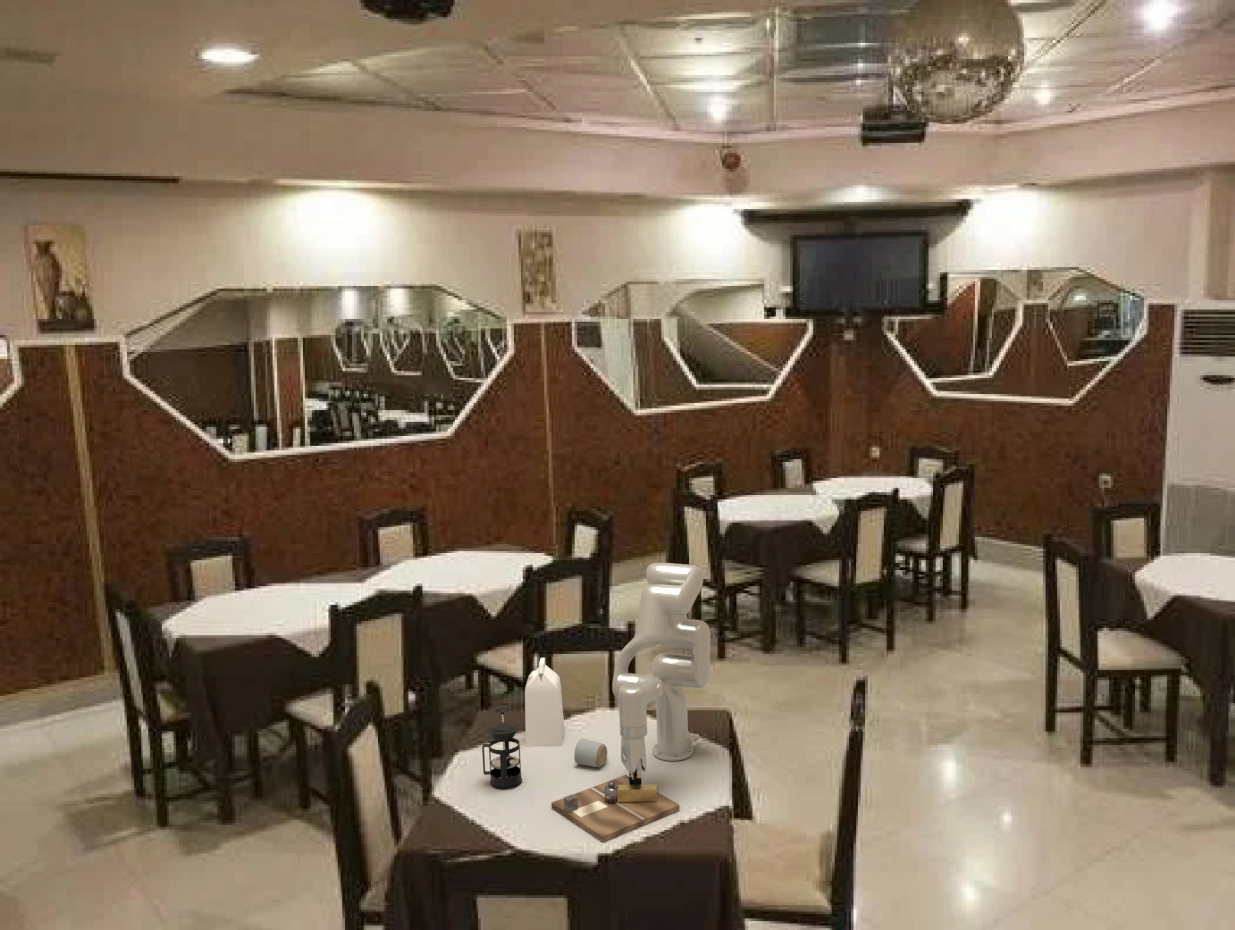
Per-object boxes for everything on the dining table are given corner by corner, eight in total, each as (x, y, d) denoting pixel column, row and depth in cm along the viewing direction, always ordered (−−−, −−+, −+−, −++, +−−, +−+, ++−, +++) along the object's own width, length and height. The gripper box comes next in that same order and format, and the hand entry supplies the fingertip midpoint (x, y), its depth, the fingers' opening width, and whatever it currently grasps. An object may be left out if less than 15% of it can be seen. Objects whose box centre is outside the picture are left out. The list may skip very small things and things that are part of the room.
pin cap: (612, 784, 282) (612, 780, 282) (616, 786, 281) (616, 782, 281) (606, 786, 281) (606, 782, 281) (610, 788, 280) (610, 784, 280)
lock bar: (604, 803, 280) (604, 791, 279) (605, 796, 284) (604, 784, 283) (657, 802, 279) (656, 790, 279) (656, 795, 283) (656, 783, 283)
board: (626, 779, 297) (625, 763, 297) (679, 810, 278) (679, 792, 278) (551, 807, 282) (550, 790, 281) (602, 842, 263) (602, 823, 262)
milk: (562, 745, 322) (558, 667, 318) (525, 746, 322) (521, 668, 318) (564, 730, 334) (561, 654, 330) (529, 731, 334) (525, 655, 330)
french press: (525, 774, 303) (522, 700, 299) (523, 789, 294) (519, 713, 290) (486, 775, 303) (482, 702, 299) (482, 790, 294) (478, 714, 290)
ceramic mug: (598, 772, 303) (598, 747, 302) (574, 767, 306) (573, 743, 305) (613, 758, 312) (612, 734, 311) (589, 754, 316) (588, 730, 315)
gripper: (613, 720, 288) (615, 780, 291) (627, 741, 274) (630, 805, 277) (638, 716, 290) (640, 776, 293) (654, 737, 276) (656, 800, 279)
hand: (635, 790), depth 285 cm, fingers closed
